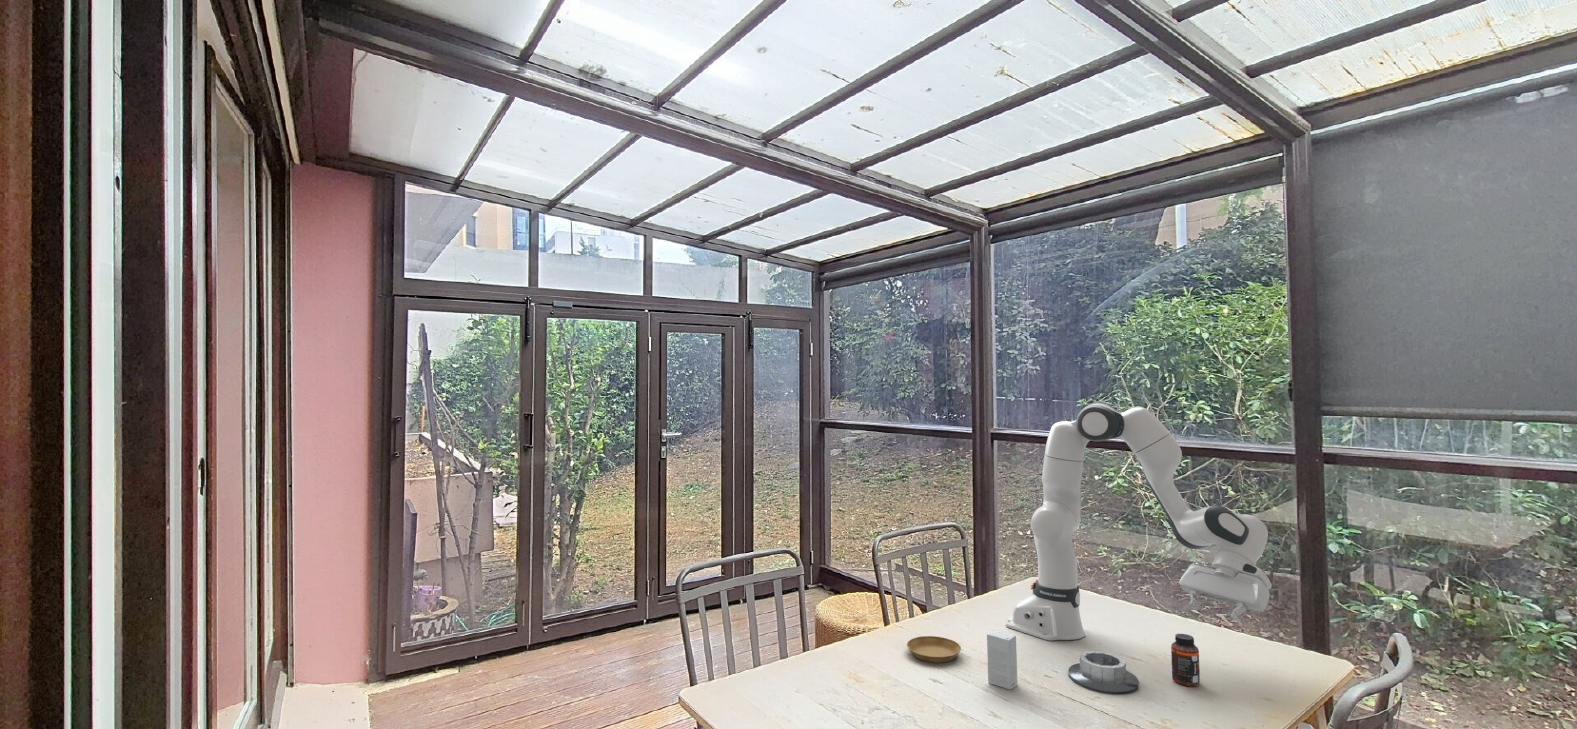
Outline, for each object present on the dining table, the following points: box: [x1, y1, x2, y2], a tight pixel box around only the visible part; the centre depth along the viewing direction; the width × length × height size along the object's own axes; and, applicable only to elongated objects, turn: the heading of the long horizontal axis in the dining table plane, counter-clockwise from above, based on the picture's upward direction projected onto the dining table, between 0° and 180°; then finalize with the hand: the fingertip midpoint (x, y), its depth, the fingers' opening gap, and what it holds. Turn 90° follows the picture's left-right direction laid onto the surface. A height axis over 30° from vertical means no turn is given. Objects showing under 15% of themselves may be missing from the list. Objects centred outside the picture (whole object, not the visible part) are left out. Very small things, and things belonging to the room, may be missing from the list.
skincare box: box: [986, 630, 1018, 690], centre depth 162 cm, size 6×4×12 cm
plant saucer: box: [906, 635, 962, 664], centre depth 180 cm, size 15×15×3 cm
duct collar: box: [1067, 650, 1140, 695], centre depth 164 cm, size 16×16×5 cm
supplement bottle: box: [1170, 633, 1201, 687], centre depth 162 cm, size 6×6×11 cm
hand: (1211, 613), depth 168 cm, fingers open, 8 cm apart
